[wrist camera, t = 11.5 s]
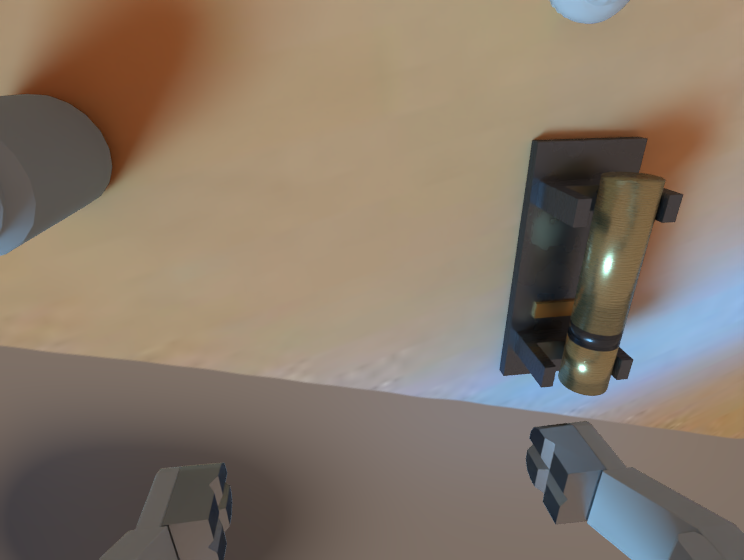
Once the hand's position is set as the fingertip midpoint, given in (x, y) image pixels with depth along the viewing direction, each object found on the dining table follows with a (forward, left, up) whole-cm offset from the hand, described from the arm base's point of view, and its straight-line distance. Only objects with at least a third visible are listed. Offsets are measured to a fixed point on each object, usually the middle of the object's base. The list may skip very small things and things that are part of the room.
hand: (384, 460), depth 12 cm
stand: (-13, +17, -25) cm, 33 cm away
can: (+13, -14, -25) cm, 32 cm away
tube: (-13, +17, -22) cm, 30 cm away
